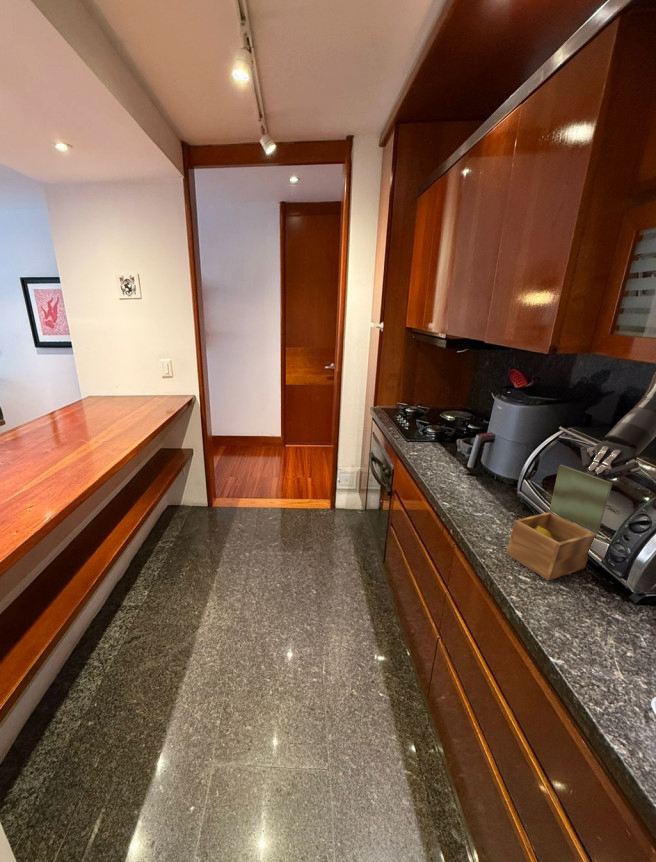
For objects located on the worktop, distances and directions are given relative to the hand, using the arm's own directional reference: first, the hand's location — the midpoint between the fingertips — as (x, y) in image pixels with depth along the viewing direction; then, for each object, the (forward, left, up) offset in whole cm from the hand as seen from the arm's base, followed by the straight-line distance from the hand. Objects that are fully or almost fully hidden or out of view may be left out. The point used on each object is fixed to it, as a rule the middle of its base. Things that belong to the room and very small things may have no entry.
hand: (583, 485), depth 93 cm
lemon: (+3, +6, -19) cm, 20 cm away
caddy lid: (0, +1, -3) cm, 3 cm away
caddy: (+3, +5, -20) cm, 21 cm away
